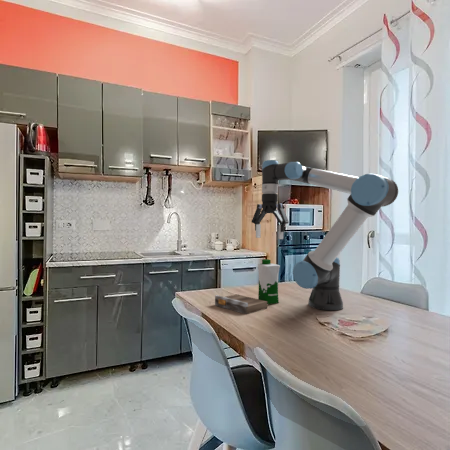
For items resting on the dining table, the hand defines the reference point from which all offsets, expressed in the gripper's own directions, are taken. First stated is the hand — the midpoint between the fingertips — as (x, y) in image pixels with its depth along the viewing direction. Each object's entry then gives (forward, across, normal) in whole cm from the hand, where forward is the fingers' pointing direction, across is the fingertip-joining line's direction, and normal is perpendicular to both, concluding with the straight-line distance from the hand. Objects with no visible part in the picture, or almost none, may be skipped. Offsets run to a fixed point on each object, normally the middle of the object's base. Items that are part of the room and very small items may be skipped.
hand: (269, 238), depth 156 cm
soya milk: (+31, 0, 0) cm, 31 cm away
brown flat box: (+30, -3, -16) cm, 34 cm away
